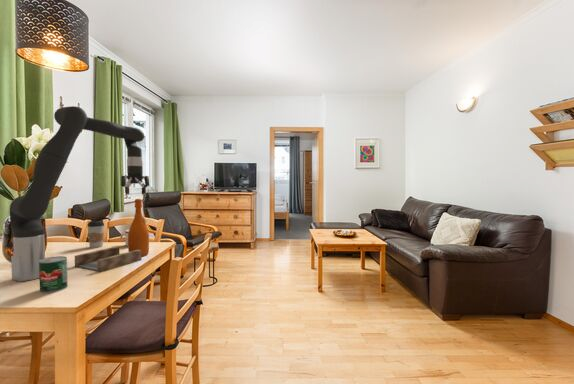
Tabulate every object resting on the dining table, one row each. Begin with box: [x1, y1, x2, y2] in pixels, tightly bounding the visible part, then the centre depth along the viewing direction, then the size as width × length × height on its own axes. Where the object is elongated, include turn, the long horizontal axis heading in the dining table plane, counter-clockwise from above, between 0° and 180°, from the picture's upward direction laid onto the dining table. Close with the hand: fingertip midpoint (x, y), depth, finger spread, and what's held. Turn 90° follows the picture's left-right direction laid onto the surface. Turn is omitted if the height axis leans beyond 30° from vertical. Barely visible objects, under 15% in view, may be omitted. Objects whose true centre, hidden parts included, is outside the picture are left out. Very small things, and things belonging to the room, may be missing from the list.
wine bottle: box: [127, 198, 150, 257], centre depth 146 cm, size 10×10×30 cm
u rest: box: [74, 246, 142, 273], centre depth 132 cm, size 20×18×5 cm
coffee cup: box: [87, 220, 105, 249], centre depth 163 cm, size 8×8×15 cm
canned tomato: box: [38, 255, 69, 294], centre depth 100 cm, size 8×8×11 cm
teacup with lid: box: [119, 228, 130, 247], centre depth 169 cm, size 12×9×12 cm
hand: (135, 194), depth 154 cm, fingers open, 8 cm apart
